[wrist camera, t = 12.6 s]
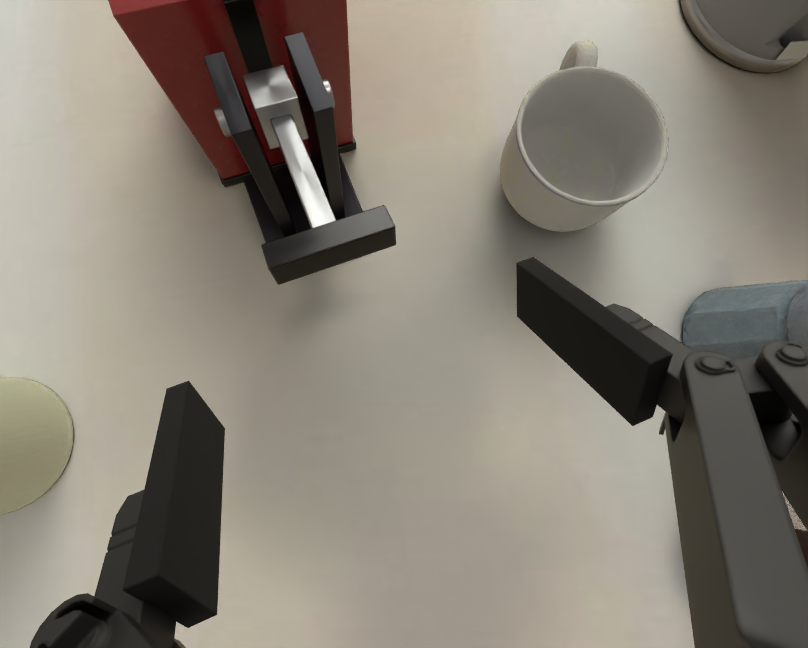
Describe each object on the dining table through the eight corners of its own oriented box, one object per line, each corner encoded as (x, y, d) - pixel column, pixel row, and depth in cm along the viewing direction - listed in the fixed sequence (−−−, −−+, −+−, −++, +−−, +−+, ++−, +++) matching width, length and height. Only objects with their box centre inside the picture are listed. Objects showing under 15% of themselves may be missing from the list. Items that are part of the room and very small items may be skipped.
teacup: (592, 259, 34) (661, 220, 26) (474, 227, 34) (507, 178, 26) (613, 122, 37) (681, 49, 29) (503, 90, 36) (542, 7, 28)
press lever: (396, 252, 18) (395, 218, 16) (281, 292, 17) (263, 261, 15) (323, 99, 23) (314, 56, 21) (228, 124, 22) (209, 83, 20)
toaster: (356, 149, 34) (350, -34, 19) (225, 188, 32) (108, 19, 17) (308, 29, 35) (268, -227, 21) (180, 60, 34) (37, -195, 19)
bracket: (368, 233, 33) (372, 121, 19) (275, 264, 31) (207, 168, 18) (339, 159, 33) (323, 3, 20) (247, 187, 32) (162, 40, 19)
